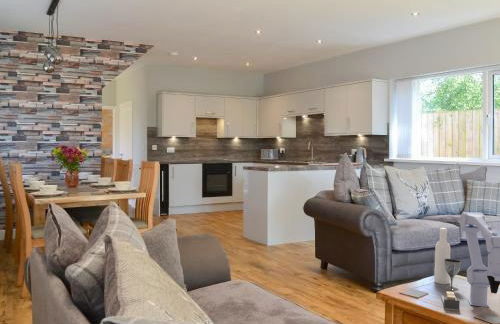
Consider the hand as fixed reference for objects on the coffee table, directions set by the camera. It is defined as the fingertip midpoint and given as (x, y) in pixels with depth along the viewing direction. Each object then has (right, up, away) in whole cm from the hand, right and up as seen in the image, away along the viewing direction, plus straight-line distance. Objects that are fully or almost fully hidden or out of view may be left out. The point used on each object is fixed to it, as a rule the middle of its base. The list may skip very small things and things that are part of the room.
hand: (493, 292), depth 208 cm
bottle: (-2, -8, +51) cm, 51 cm away
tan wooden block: (-15, -9, +11) cm, 20 cm away
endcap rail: (-14, -9, +13) cm, 21 cm away
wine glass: (-2, -9, +39) cm, 40 cm away
